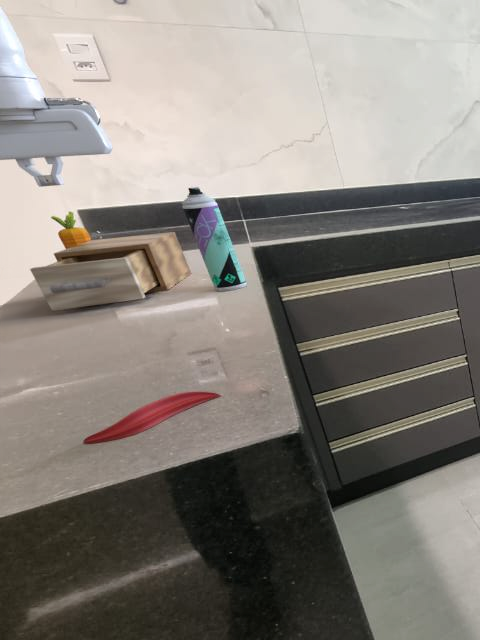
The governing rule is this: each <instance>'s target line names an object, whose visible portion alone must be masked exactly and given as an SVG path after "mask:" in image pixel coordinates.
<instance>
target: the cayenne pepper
mask: <svg viewBox="0 0 480 640" xmlns="http://www.w3.org/2000/svg"><path fill="white" fill-rule="evenodd" d="M220 397H222V395H221V394H219V393H216V392H211V391H210V392H209V391H187V392H186V391H185V392H180V393H176V394H171V395H168V396H166V397H163V398H160V399H158V400H155V401H152V402H150V403H147V404H146V405H144V406H141V407H139V408H138V409H136V410H134V411H132V412H130V413H129V414H128V415H126V416H125V417H123V418H122V419H120V420H118V421H117V422H116V423H114V424H112V425H110V426H108V427H107V428H104V429H102V430H100V431H98V432H95V433H93V434H91V435H88V436H87V437H86V438H84V440H83V441H82V443H83V444H97V443H103V442H109V441H114V440H118V439H122V438H123V439H124V438H127V437H130V436H133V435H136V434H139V433H143V432H144V431H146V430H147V431H148V430H149V429H150V428H153V427H155V426H157V425H158V424H160V423H161V422H163V421H165V420H167V419H169V418H171V417H173V416H175V415H177V414H180V413H181V412H184V411H186V410H188V409H191V408H193V407H196V406H198V405H200V404H202V403H205V402H208V401H210V400H213V399H217V398H220Z"/></svg>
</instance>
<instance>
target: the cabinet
mask: <svg viewBox="0 0 480 640" xmlns="http://www.w3.org/2000/svg"><path fill="white" fill-rule="evenodd" d="M135 249H145V251H146V253H147V255H148V257H149V260H150V262H151V264H152V267H153V269H154V271H155V273H156V276H157V278H158V280H159V283H160V284H158V285H156V286H155V287H153V288H152V289H150V290H148V291H147V292H145V293H144V294H149V293H156V292H164V291H169V290H171V289H172V288H173V287H175V286H176V285H178V284H179V283H180V282H182V281H184V280H185V279H187V278H188V277H189V276H190V275H192V272H191V271H192V270H191V269H190V267H189V264H188V261H187V259H186V257H185V254H184V252H183V248H182V247H181V245H180V242H179V239H178V237H177V234H176V232H175V231H171V232H170V231H169V232H160V233H150V234H139V235H131V236H121V237H109V238H101V239H91V241H88V242H86V243H83V244H80V245H77V246H74V247H71V248H68V249H66V248H65V249H63V250H60V251H57V252H54V253H53V256H54V257H55V259H56V262H58V261H61V260H64V259H66V258H69V257H72V256H79V255H89V254H98V253H107V252H117V251H126V250H135ZM187 276H188V277H187ZM184 278H185V279H184ZM181 280H182V281H181ZM179 281H180V282H179ZM178 282H179V283H178ZM175 284H176V285H175ZM174 285H175V286H174ZM171 287H172V288H171ZM168 289H169V290H168Z"/></svg>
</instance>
